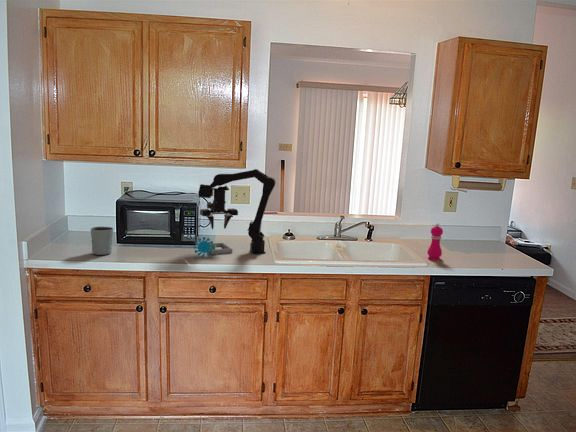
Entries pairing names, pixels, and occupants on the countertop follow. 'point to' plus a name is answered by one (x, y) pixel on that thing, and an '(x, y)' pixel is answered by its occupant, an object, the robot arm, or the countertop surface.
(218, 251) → the tray
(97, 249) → the grey cup
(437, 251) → the pepper mill
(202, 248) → the gear
